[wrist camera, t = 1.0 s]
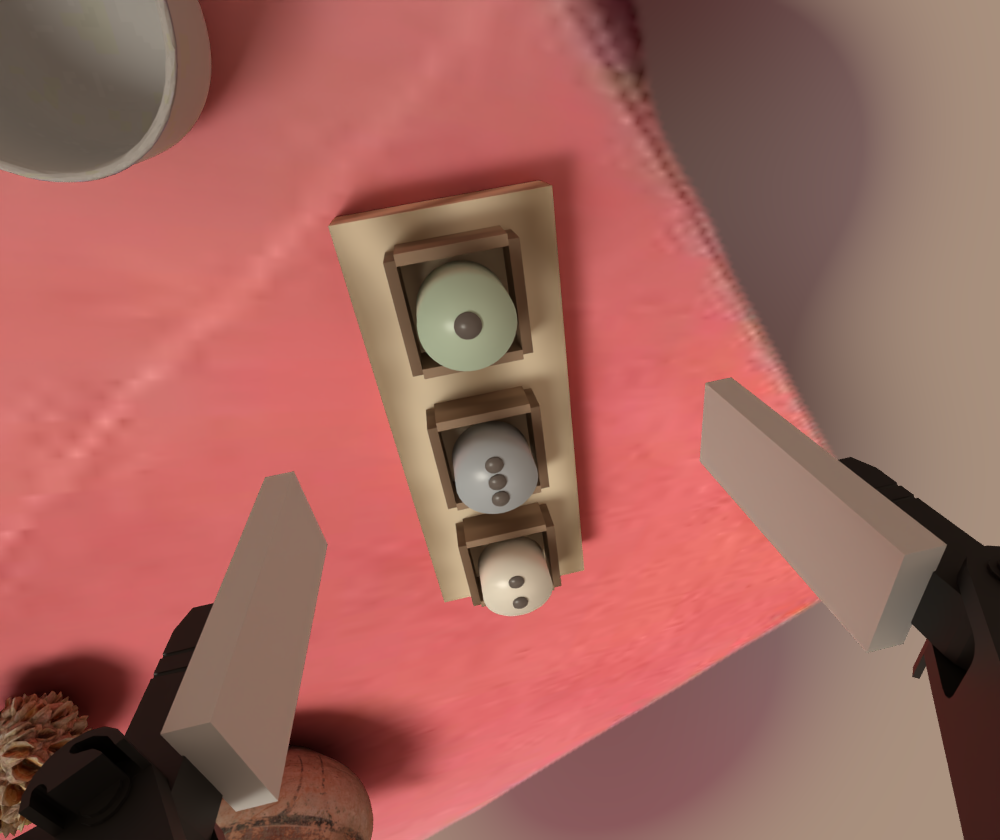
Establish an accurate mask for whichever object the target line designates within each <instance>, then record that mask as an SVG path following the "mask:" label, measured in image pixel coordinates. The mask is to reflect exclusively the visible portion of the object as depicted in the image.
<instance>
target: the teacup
mask: <svg viewBox="0 0 1000 840" xmlns="http://www.w3.org/2000/svg"><path fill="white" fill-rule="evenodd" d="M210 80H211V49H210V41H209V36H208V31H207V27H206V23H205V20H204V16H203V13H202V10H201V6H200V4H199V1H198V0H0V169H1V170H4V171H7V172H10V173H14V174H17V175H21V176H24V177H28V178H32V179H37V180H42V181H52V182H84V181H92V180H97V179H102V178H105V177H108V176H111V175H114V174H117V173H119V172H121V171H123V170H125V169H127V168H129V167H130V166H132V165H133V164H136V163H139V162H142V161H144V160H147V159H149V158H152V157H154V156H156V155H158V154H160V153H162V152H164V151H166V150H168V149H169V148H171V147H172V146H174V145H175V144H176V143H178V142H179V141H180V140H181V139H182V138H183V137H184V136H185V135H186V134H187V133H188V132H189V131H190V130H191V129H192V127H193V126H194V124H195V123H196V121H197V120H198V118H199V116H200V114H201V112H202V110H203V108H204V105H205V102H206V99H207V96H208V92H209V87H210Z"/></svg>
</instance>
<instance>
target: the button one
mask: <svg viewBox="0 0 1000 840" xmlns="http://www.w3.org/2000/svg"><path fill="white" fill-rule="evenodd" d="M416 315H417V331H418V336H419V339H420V342H421V344H422V346H423V348H424V349H425V351H426V352H427V353H428V355H429V356H430V357H431V358H432V359H433V360H435V361H436V362H437V363H439V364H440V365H442V366H444V367H446V368H449V369H452V370H457V371H475V370H480V369H483V368H485V367H488V366H490V365H492V364H494V363H495V362H496V361H498V360H499V359H500V358H501V357H502V356H503V355H504V354H505V353H506V352H507V351H508V349H509V348H510V346H511V344H512V342H513V340H514V337H515V335H516V330H517V314H516V309H515V307H514V304H513V302H512V300H511V298H510V296H509V295H508V293H507V291H506V290H505V288H504V286H503V285H502V283H501V281H500V280H499V278H498V277H497V276H496V275H495V274H494V273H493V272H492V271H491V270H490V269H488V268H487V267H485V266H483V265H481V264H479V263H476V262H473V261H467V260H458V261H452V262H448V263H445V264H443V265H441V266H439V267H437V268H436V269H434V270H433V271H432V272H431V273H430V274H429V275H428V276H427V277H426V278H425V280H424V281H423V283H422V284H421V286H420V288H419V291H418V294H417V299H416Z"/></svg>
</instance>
